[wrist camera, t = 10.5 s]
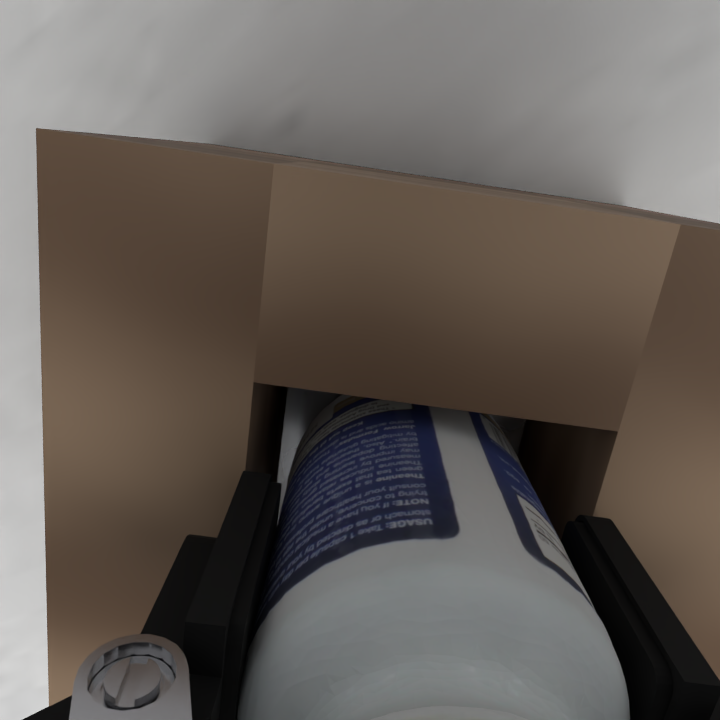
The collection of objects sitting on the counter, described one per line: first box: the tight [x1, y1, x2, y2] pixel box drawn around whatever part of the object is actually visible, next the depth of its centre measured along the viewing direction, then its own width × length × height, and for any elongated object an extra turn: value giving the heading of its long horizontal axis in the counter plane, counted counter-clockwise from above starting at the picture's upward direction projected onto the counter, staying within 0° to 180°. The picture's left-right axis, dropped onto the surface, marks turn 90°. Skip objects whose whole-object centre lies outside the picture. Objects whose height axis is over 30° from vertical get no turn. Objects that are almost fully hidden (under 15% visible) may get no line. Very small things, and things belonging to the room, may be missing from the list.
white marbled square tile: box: [277, 387, 526, 525], centre depth 16 cm, size 6×6×1 cm
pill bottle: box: [237, 394, 630, 720], centre depth 10 cm, size 5×5×10 cm
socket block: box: [36, 128, 720, 706], centre depth 17 cm, size 14×14×11 cm
